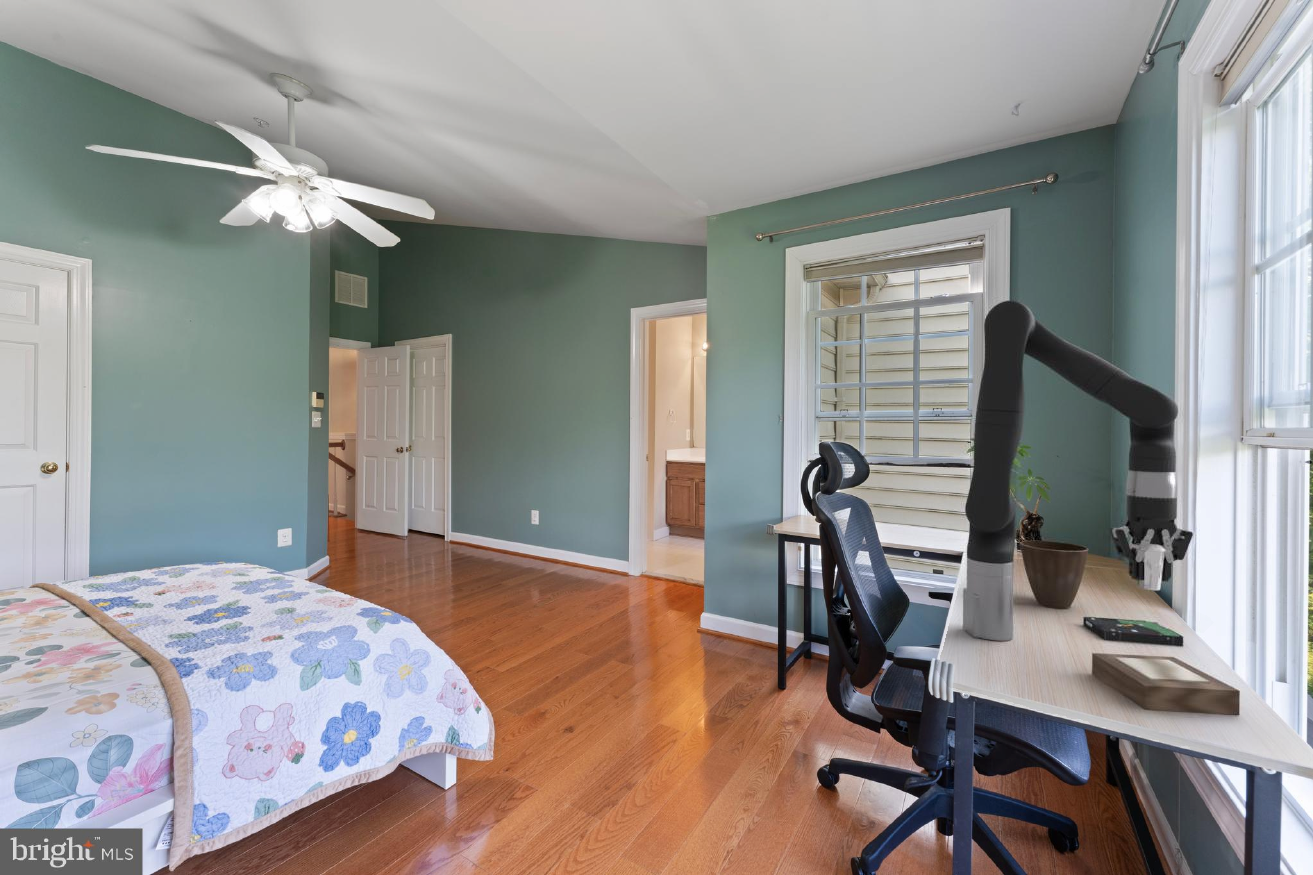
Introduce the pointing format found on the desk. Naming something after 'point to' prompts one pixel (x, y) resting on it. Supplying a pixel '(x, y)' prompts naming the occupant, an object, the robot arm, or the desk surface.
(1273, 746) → the desk surface
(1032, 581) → the plant pot
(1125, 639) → the disk drive
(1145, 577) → the milkshake
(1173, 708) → the plinth
